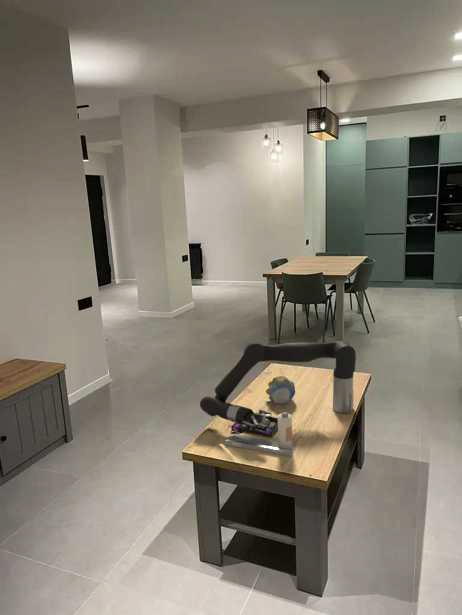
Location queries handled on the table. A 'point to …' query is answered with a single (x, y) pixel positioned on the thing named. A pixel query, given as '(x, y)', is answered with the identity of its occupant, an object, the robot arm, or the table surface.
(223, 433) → the table surface
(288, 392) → the decorative rock
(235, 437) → the shelf board
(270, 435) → the box
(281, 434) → the cream bottle
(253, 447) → the rail
